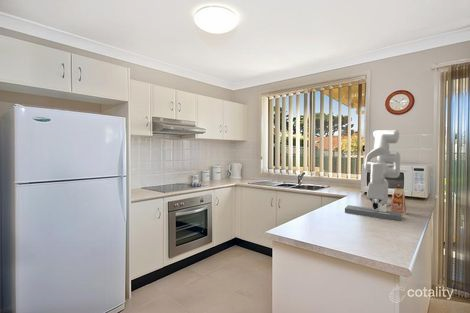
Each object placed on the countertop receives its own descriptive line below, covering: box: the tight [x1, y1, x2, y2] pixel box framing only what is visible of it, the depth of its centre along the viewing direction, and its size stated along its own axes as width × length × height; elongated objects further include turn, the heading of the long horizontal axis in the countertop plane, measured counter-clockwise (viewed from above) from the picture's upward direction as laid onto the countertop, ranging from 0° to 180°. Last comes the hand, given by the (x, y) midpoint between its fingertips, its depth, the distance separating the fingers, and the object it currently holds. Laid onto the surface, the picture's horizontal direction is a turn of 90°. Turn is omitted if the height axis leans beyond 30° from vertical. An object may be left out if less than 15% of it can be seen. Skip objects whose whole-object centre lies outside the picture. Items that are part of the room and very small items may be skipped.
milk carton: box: [389, 184, 407, 216], centre depth 176 cm, size 9×9×20 cm
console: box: [344, 204, 402, 222], centre depth 168 cm, size 12×32×3 cm, turn 56°
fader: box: [378, 204, 388, 212], centre depth 165 cm, size 5×4×4 cm
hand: (375, 208), depth 167 cm, fingers closed
